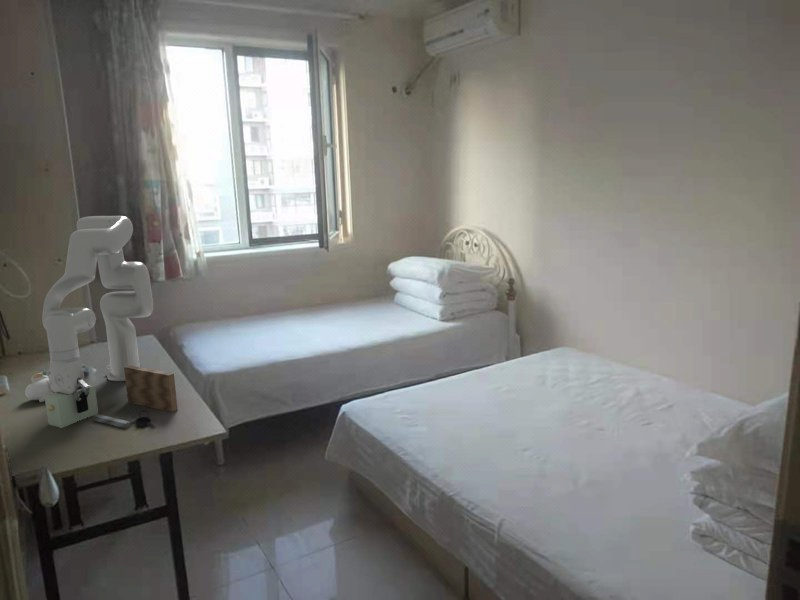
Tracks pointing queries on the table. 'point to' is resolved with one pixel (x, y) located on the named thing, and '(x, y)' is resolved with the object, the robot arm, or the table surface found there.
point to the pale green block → (68, 408)
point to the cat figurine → (39, 387)
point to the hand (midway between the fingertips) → (72, 409)
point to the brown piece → (146, 392)
